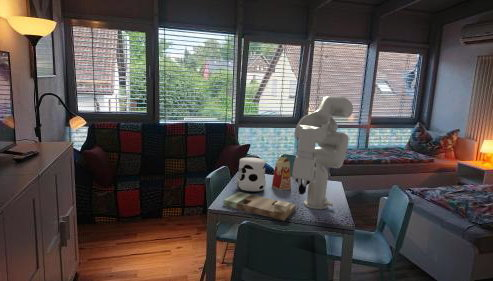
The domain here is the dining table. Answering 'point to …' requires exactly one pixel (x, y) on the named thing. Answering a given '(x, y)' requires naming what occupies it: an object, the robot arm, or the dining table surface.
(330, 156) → the robot arm
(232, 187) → the dining table surface
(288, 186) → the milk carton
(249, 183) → the milk container
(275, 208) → the block
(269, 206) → the wooden puzzle board
